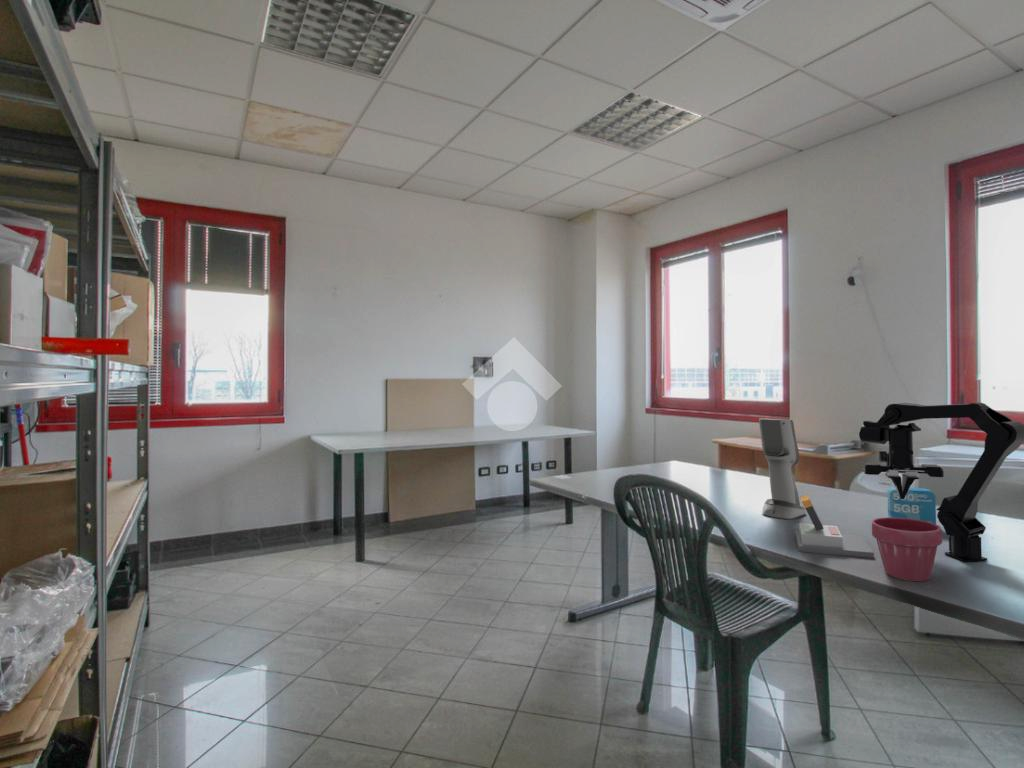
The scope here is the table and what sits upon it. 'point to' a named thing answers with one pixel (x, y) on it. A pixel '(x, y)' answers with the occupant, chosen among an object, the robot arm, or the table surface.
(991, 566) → the table surface
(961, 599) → the table surface
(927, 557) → the plant pot
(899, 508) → the data package
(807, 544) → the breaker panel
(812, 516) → the lever
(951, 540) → the robot arm
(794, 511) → the handheld scanner
